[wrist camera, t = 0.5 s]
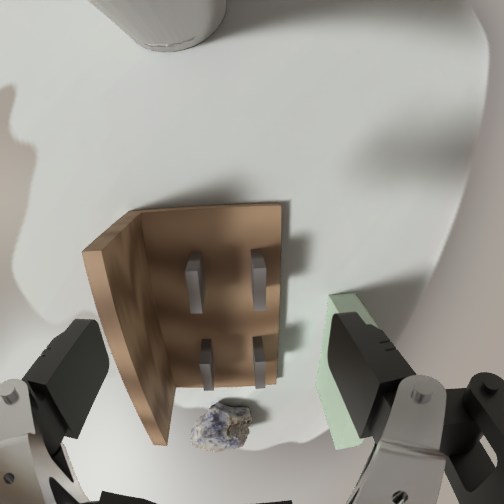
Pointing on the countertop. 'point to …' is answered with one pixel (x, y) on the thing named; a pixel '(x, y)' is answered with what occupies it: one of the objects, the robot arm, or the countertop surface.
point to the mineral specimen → (221, 428)
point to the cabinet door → (325, 383)
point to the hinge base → (188, 301)
